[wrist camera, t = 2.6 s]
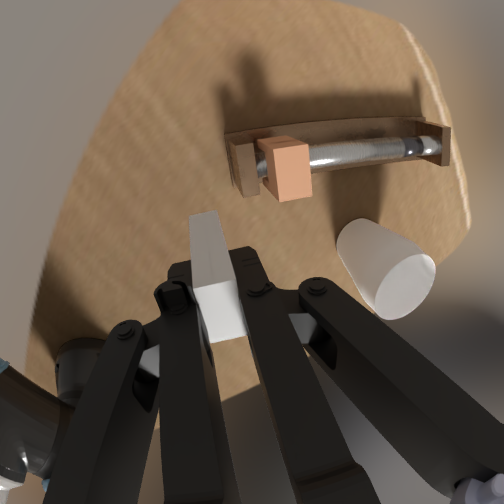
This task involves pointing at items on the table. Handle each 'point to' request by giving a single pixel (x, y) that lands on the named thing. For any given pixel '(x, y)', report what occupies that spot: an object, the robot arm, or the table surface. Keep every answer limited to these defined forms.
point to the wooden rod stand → (340, 145)
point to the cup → (385, 267)
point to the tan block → (286, 167)
